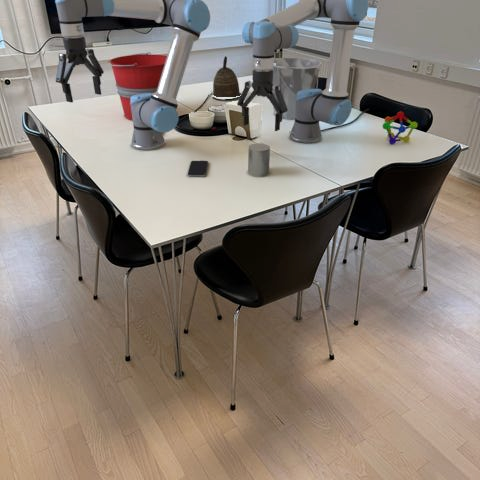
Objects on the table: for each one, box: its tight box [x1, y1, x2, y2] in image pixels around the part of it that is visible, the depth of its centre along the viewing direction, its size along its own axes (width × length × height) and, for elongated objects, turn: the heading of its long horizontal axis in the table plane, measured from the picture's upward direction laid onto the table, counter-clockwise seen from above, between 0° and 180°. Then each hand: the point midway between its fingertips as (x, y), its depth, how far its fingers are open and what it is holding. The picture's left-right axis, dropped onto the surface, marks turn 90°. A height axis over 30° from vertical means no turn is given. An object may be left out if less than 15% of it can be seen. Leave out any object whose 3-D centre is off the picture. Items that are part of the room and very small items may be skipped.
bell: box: [212, 56, 242, 97], centre depth 278 cm, size 19×26×20 cm
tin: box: [247, 142, 271, 178], centre depth 177 cm, size 8×8×11 cm
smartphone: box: [187, 160, 209, 177], centre depth 182 cm, size 7×1×15 cm
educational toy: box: [382, 110, 418, 145], centre depth 207 cm, size 16×13×15 cm
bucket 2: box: [272, 56, 322, 120], centre depth 242 cm, size 30×30×28 cm
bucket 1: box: [106, 51, 167, 121], centre depth 240 cm, size 35×35×30 cm
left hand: (84, 97), depth 167 cm, fingers open, 13 cm apart
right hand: (261, 127), depth 171 cm, fingers open, 13 cm apart
